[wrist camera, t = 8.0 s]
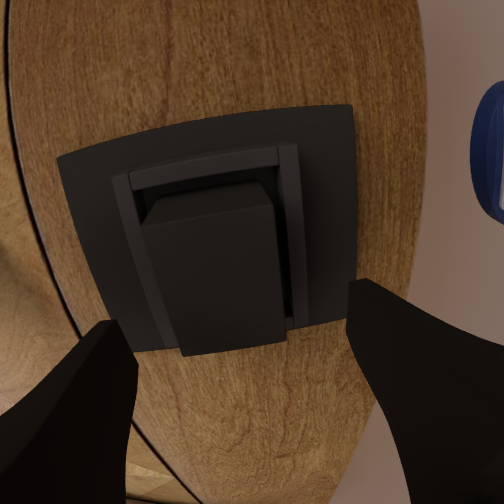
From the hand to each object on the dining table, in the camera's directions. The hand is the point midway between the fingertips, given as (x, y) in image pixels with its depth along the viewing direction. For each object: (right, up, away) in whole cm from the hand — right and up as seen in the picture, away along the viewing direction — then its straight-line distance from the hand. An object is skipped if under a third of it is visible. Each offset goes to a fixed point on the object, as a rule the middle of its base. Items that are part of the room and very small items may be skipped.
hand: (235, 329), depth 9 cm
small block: (-1, +3, +6) cm, 6 cm away
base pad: (-1, +3, +7) cm, 7 cm away
